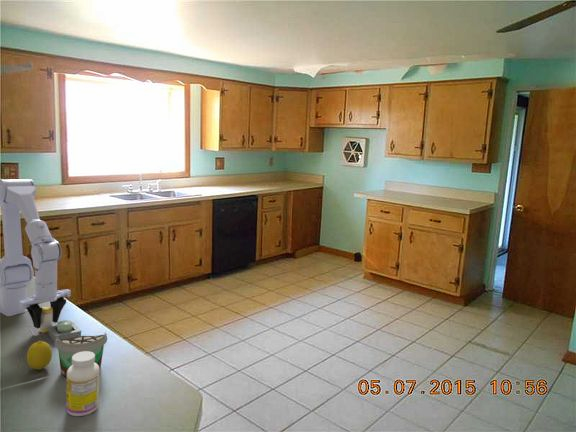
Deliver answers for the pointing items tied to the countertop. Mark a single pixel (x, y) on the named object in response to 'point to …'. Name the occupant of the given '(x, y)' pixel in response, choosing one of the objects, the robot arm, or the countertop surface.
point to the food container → (79, 349)
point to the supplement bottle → (82, 384)
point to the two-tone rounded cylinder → (46, 319)
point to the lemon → (39, 355)
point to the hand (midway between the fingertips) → (46, 324)
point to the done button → (64, 326)
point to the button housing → (66, 335)
